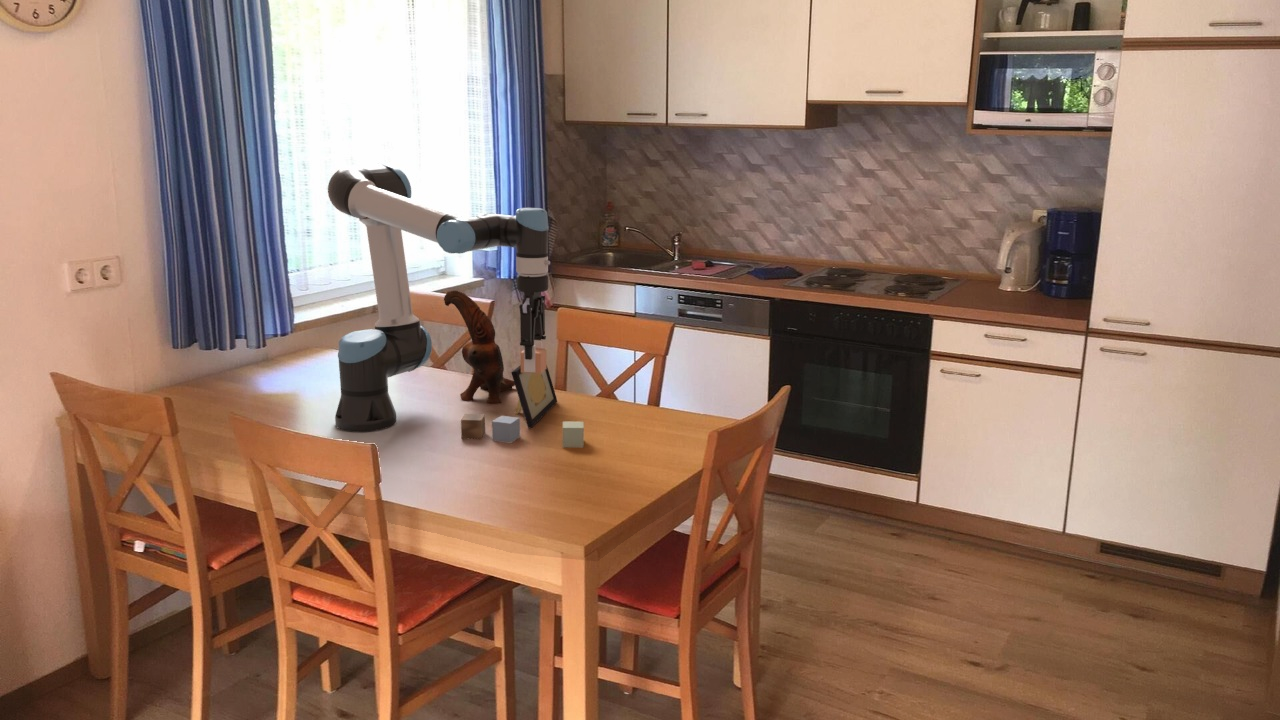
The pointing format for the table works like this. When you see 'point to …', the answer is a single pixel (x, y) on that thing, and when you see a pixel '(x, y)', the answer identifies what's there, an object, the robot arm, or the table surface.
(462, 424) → the walnut block
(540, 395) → the picture frame
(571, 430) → the sage block
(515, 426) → the slate block
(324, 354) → the table surface
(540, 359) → the terracotta block
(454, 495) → the table surface
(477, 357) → the sculpture
